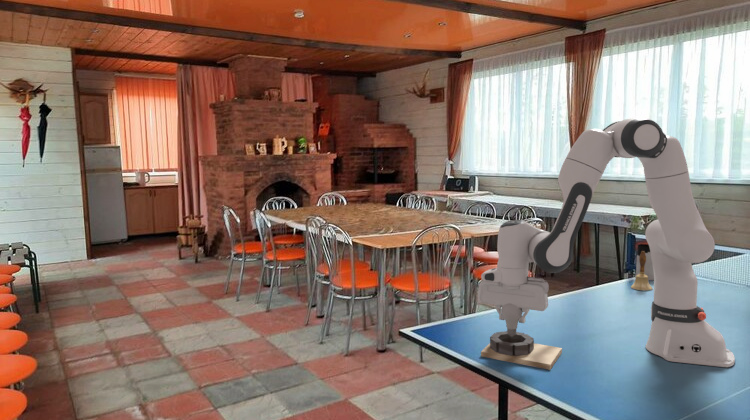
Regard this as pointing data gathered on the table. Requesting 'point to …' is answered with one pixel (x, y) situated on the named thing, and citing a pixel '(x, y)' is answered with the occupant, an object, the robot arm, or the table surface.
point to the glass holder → (648, 265)
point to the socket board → (532, 359)
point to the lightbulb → (511, 317)
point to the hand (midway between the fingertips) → (512, 320)
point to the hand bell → (642, 276)
